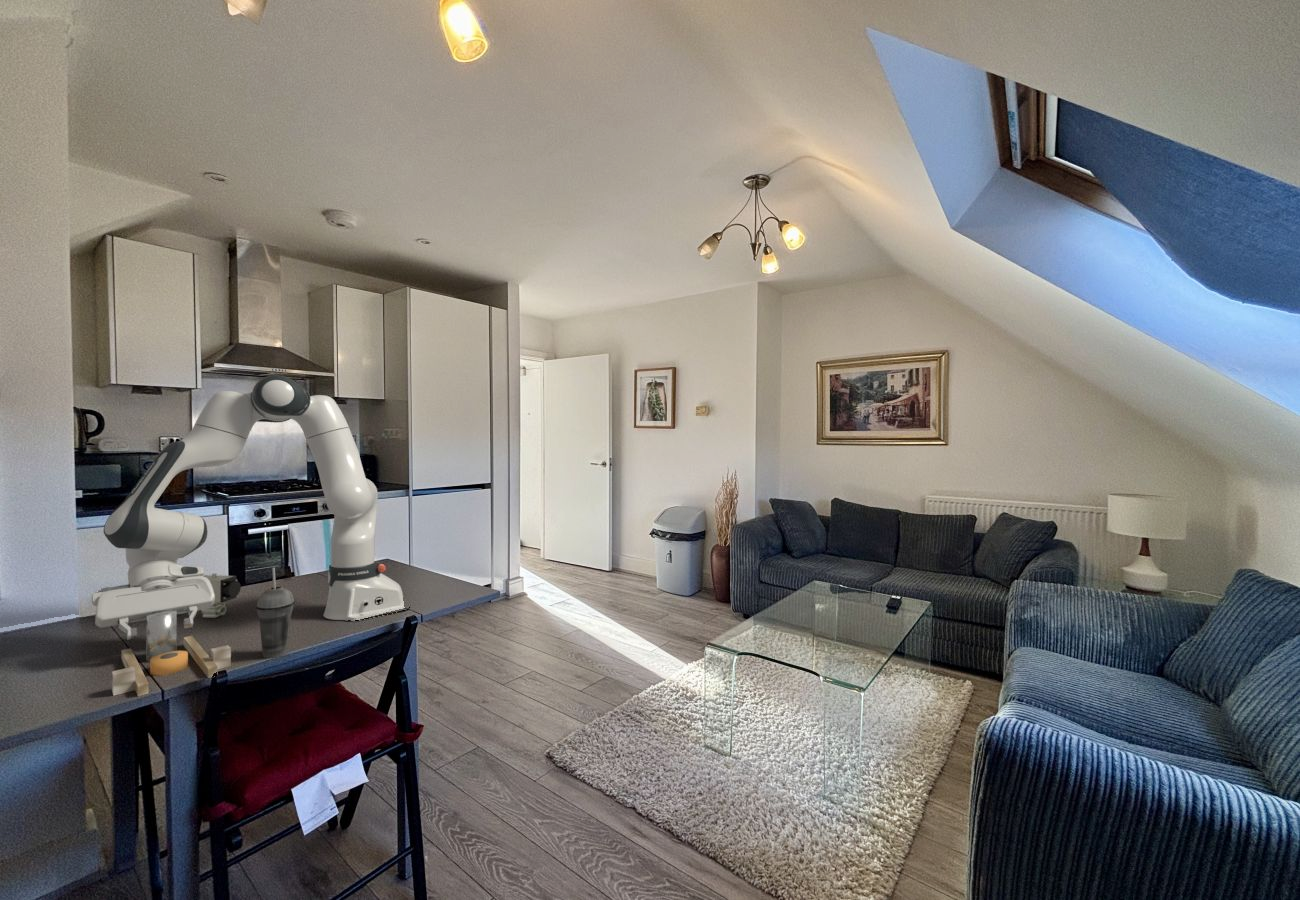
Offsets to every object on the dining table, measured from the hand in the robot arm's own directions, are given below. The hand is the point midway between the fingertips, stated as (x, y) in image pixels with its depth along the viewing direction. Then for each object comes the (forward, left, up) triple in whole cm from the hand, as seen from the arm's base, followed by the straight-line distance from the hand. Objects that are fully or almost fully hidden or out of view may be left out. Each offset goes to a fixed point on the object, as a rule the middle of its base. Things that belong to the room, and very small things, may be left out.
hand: (161, 631), depth 118 cm
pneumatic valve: (-7, -29, -6) cm, 31 cm away
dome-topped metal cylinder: (0, 0, -6) cm, 6 cm away
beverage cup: (-21, +12, -6) cm, 25 cm away
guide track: (-2, +8, -6) cm, 10 cm away
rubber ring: (-3, +9, -6) cm, 11 cm away
